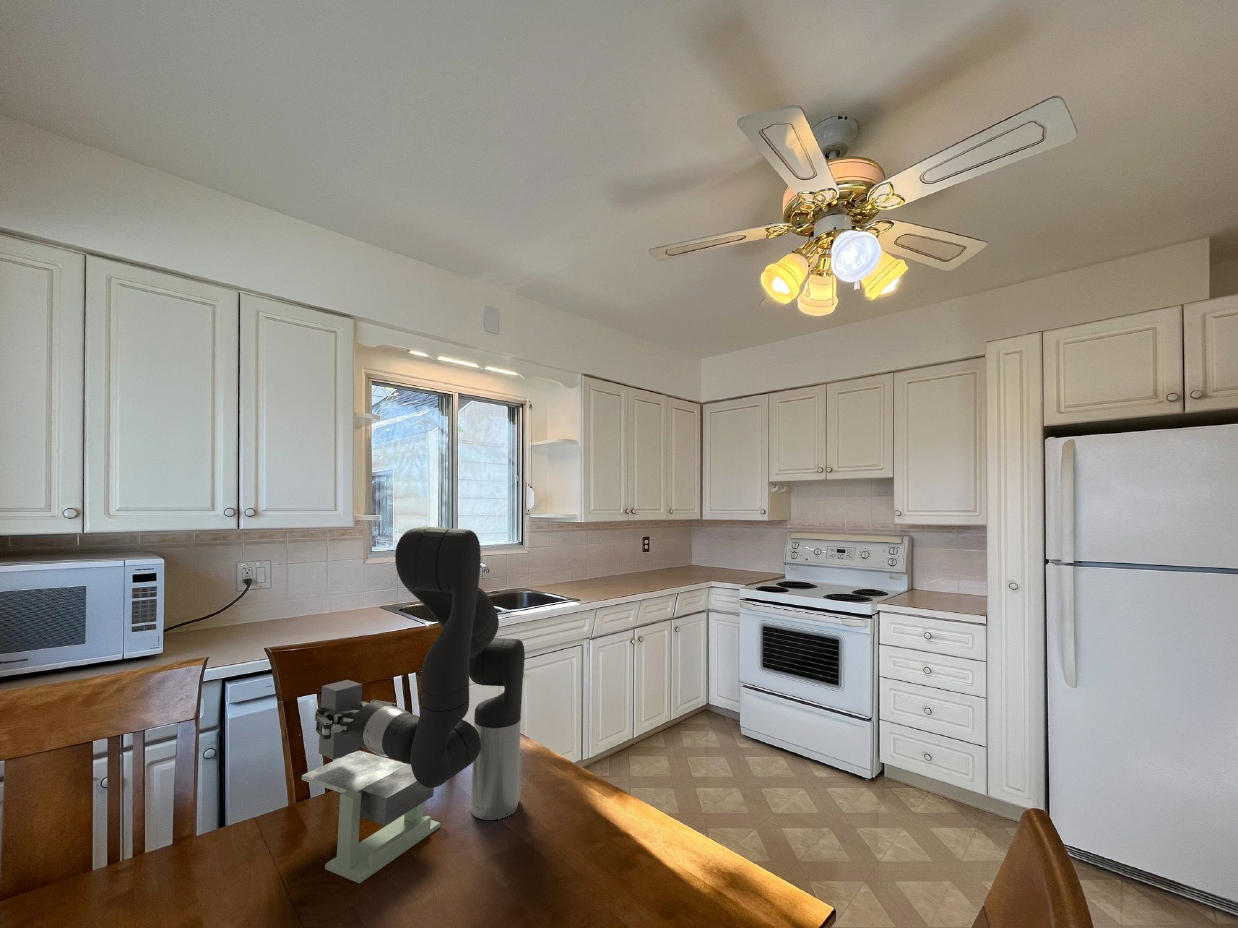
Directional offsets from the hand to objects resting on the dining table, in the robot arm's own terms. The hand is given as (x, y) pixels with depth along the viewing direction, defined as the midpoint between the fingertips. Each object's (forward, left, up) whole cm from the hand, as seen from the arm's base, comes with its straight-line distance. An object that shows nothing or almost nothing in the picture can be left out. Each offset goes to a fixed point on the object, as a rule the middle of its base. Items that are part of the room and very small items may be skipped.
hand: (333, 709), depth 107 cm
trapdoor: (-1, +10, -14) cm, 17 cm away
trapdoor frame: (-1, +13, -21) cm, 25 cm away
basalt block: (0, +3, -7) cm, 8 cm away
